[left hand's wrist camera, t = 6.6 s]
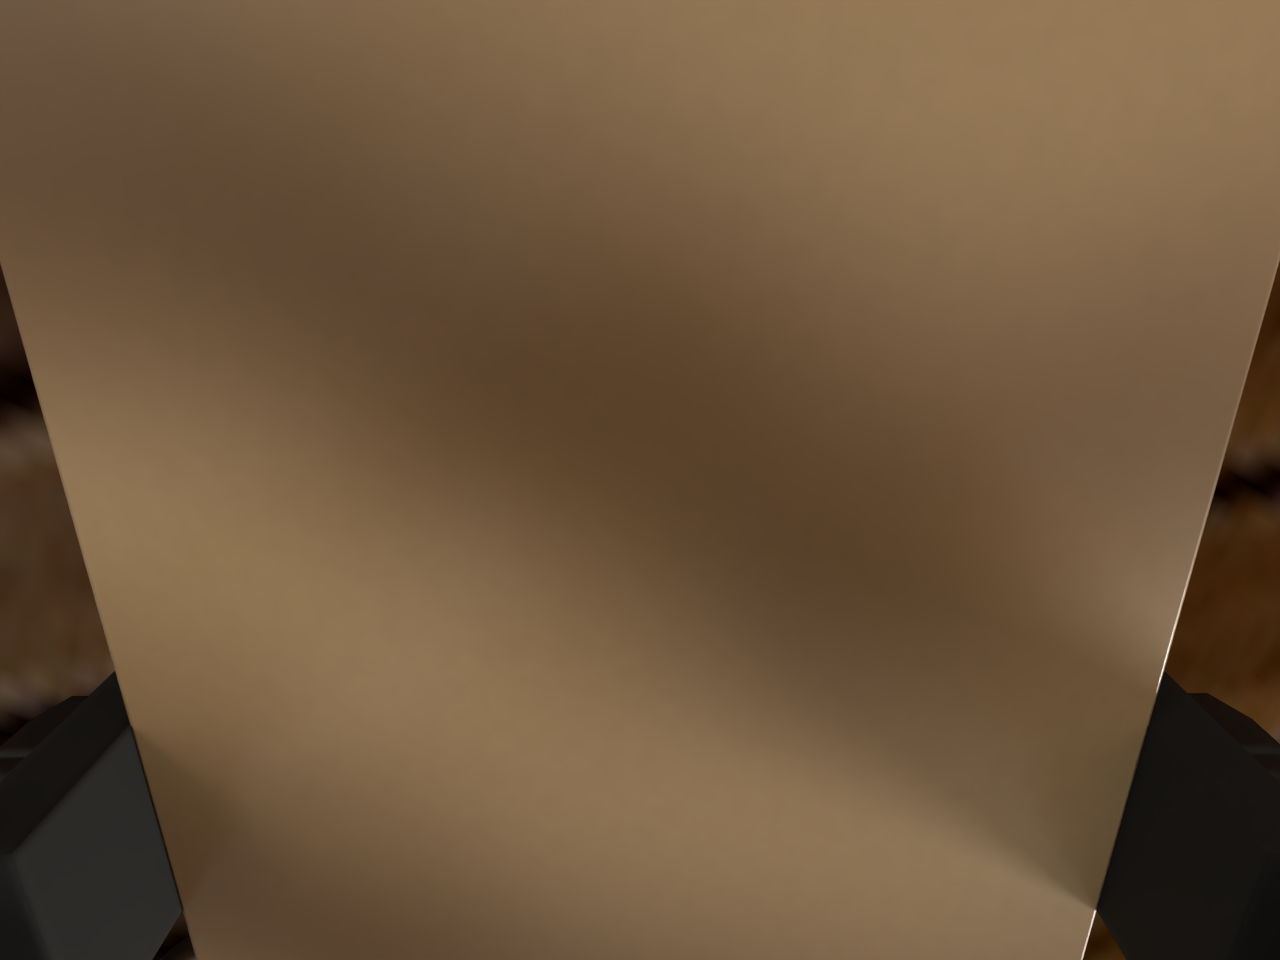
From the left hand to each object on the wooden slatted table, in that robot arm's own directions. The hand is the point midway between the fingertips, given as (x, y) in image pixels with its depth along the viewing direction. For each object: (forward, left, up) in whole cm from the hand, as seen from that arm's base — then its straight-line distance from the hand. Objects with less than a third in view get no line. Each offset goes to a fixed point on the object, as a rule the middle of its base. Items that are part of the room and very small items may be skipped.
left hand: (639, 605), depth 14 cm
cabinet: (+2, +5, -6) cm, 8 cm away
